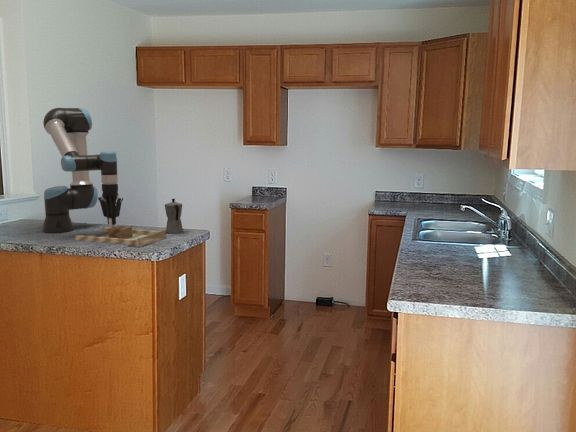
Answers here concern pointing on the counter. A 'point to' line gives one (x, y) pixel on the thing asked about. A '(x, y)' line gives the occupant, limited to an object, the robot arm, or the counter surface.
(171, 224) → the coffeepot
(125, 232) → the walnut block
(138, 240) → the wooden cutlery tray
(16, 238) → the counter surface
